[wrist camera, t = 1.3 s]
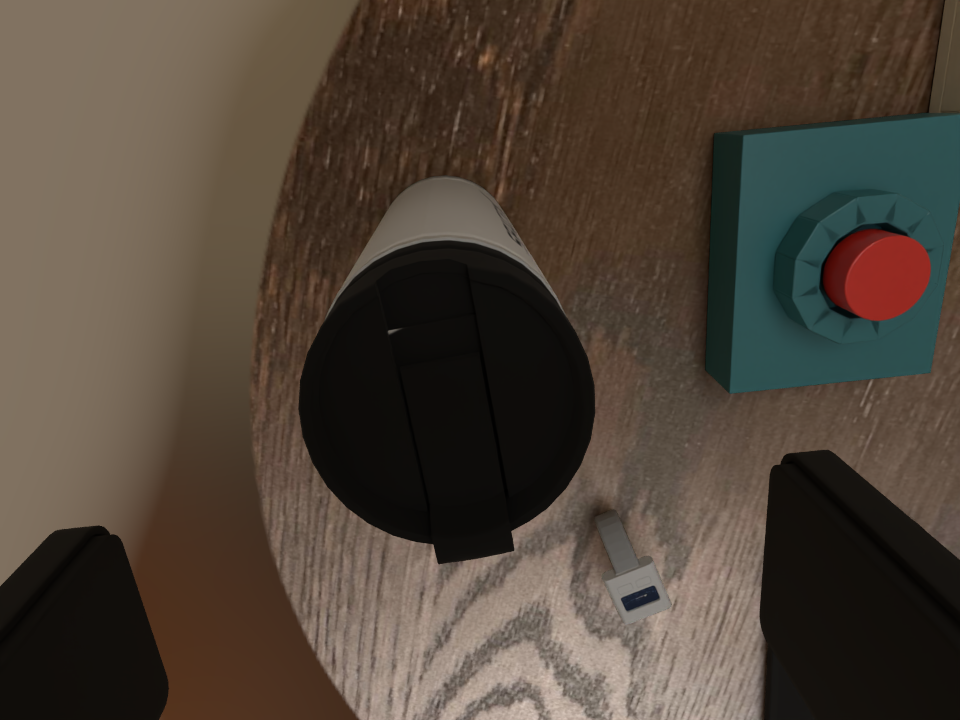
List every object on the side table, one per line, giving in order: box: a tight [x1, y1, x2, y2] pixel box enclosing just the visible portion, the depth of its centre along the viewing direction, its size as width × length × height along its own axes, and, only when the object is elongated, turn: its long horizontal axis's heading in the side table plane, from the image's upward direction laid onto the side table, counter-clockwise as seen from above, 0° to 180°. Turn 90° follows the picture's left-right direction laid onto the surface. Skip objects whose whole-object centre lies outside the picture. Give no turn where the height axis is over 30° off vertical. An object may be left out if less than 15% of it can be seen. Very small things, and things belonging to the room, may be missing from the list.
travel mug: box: [299, 176, 595, 564], centre depth 22 cm, size 6×7×20 cm
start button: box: [823, 229, 931, 321], centre depth 28 cm, size 4×4×2 cm
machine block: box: [705, 113, 960, 394], centre depth 30 cm, size 12×10×5 cm
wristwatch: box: [594, 510, 672, 624], centre depth 36 cm, size 6×3×5 cm, turn 24°
